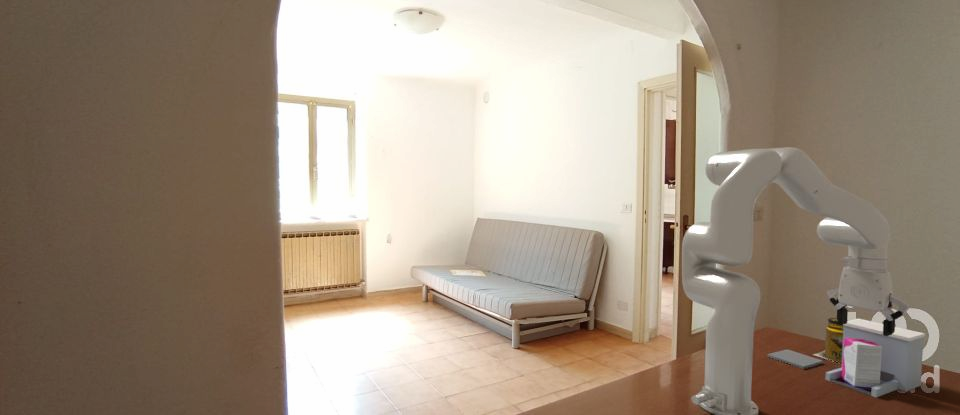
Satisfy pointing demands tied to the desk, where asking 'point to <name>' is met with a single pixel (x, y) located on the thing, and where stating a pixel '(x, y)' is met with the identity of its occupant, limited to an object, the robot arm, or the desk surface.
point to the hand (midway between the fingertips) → (864, 329)
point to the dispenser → (888, 355)
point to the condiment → (833, 341)
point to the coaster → (795, 358)
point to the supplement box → (861, 363)
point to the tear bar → (850, 387)
